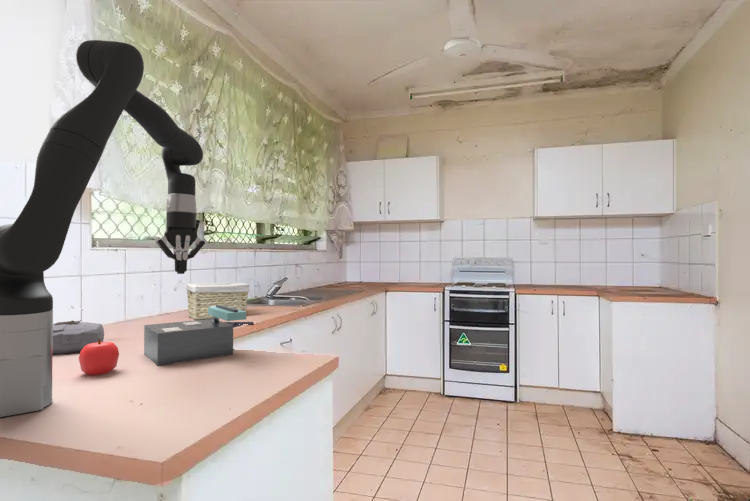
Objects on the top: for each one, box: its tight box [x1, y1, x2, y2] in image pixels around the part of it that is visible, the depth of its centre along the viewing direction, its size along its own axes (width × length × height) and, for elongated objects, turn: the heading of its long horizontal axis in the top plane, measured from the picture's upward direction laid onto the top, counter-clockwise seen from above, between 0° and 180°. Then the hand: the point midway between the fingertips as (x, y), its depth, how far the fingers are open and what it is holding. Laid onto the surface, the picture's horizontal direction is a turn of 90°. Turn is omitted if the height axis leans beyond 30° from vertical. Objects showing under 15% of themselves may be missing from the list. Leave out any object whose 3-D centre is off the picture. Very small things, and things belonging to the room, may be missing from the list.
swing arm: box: [208, 305, 247, 322], centre depth 119 cm, size 18×5×3 cm, turn 38°
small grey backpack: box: [52, 319, 105, 355], centre depth 124 cm, size 15×8×20 cm
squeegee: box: [223, 321, 254, 328], centre depth 162 cm, size 14×15×3 cm
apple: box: [78, 338, 120, 376], centre depth 101 cm, size 8×8×8 cm
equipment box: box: [143, 316, 234, 367], centre depth 119 cm, size 16×19×10 cm
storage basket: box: [185, 281, 250, 320], centre depth 190 cm, size 24×16×15 cm
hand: (180, 273), depth 120 cm, fingers closed
